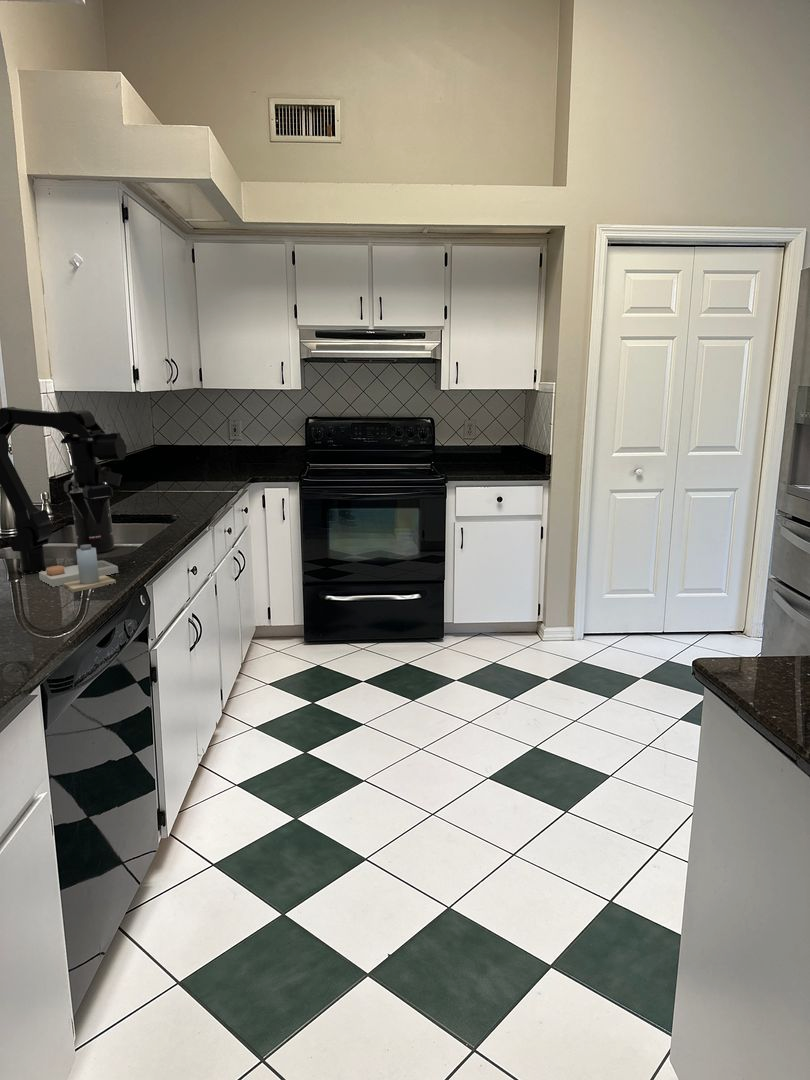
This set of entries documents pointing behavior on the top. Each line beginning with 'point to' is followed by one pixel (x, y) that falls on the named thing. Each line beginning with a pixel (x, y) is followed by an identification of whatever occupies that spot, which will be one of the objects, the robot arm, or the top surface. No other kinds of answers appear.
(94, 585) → the pad
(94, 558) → the cylinder
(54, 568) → the plunger
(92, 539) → the black cylindrical canister
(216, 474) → the top surface
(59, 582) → the white tray
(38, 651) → the top surface
